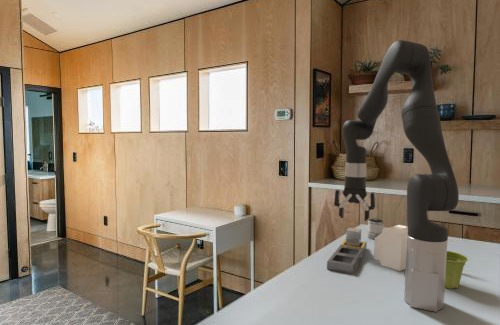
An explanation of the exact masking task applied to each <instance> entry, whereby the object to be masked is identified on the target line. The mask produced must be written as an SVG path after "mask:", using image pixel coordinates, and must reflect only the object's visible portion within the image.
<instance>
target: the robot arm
mask: <svg viewBox="0 0 500 325" xmlns="http://www.w3.org/2000/svg"><path fill="white" fill-rule="evenodd" d="M395 73H396V74H397V73H398V74H403V75H408V76H409V78H410V82H411V91H410V93H409V95H408V97H407V98H406V99H405V102H404V104H403V106H402V108H401V118H402V119H401V121H402V127H403V131H404V135H405V137H406V138H407V140H408V141H409V142H410V143H411V145H412V146H413V147H414V148H415V149H416V150H417V151H418V152H419V153H420V155H421V156H422V157H424V160H426V162H427V164H428V166H429V168H430V171H431V174H430V173H425V174H423V173H416V174H412V175H411V176H410V177H409V180H408V182H407V186H406V187H407V188H406V224H407V227H408V235H407V253H406V269H405V275H404V298H403V299H404V302H406V303H407V304H408V305H409V307H411V308H415V309H421V310H425V311H431V312H435V313H437V312H438V311H439V310H442V309H443V308H444V307H445V306H444V305H445V289H446V287H445V274H446V258H447V251H448V241H449V240H448V239H449V238H448V237H449V231H448V228H447V227H445V226H444V225H442V224H439V223H437V222H434V221H432V220H430V219H429V218H428V212H451V211H454V210H455V209H456V208H457V207H458V203H459V196H460V195H459V188H458V183H457V180H456V176H455V173H454V170H453V166H452V165H451V161H450V158H449V155H448V151H447V148H446V143H445V139H444V138H445V137H444V134H443V131H442V129H443V128H442V124H441V123H442V122H441V118H440V114H439V109H438V104H437V100H436V95H435V90H434V84H433V83H434V82H433V76H432V74H433V73H432V64H431V54H430V51H429V48H428V47H427V45H424V44H423V43H418V42H414V41H408V40H402V39H397V40H395V41H394V42H393V43H392V44H391V45H390V47H389V48H388V50H387V51H386V53H385V55H384V57H383V59H382V61H381V64H380V67H379V69H378V71H377V73H376V76H375V78H374V81H373V83H372V86H371V88H370V90H369V92H368V94H367V95H366V96H365V99H364V100H363V102H362V104H360V106H359V108H358V110H357V114H356V115H357V118H358V119H356V120H355V119H348V120H345V122H344V123H343V125H342V129H341V134H342V138H343V139H342V140H343V142H344V147H345V152H346V153H345V154H346V155H345V169H344V187H343V188H344V189H343V190H341V189H336V190H335V191H334V192H335V193H334V194H335V195H334V202H333V203H334V206H335V207H337V208H339V209H338V215H339V217H340V219H344V216H345V206H346V204H347V203H350V204H353V203H355V204H361V206H363V208H364V222H368V220H369V219H370V211H371V210H375V209H376V193H375V192H374V191H372V192H367V174H368V173H367V149H366V148H365V147H364V146H360V145H359V144H358V143H357V142H358V141H361V140H362V141H364V140H367V139H369V138H371V137H372V135H373V132H374V129H375V125H376V123H377V119H379V117H380V115H381V114H382V113H383V111H384V110H385V108H386V106H387V104H388V99H389V95H388V94H389V93H388V92H389V91H388V85H389V84H388V83H389V81H390V80H391V78H392V77H393V75H394V74H395ZM357 140H358V141H357ZM342 195H343V196H344V199H343V201H342V202H341V203H340V197H341V196H342ZM366 197H368V199H370V205H369V204H368V203H367V201H366V199H365V198H366Z"/></svg>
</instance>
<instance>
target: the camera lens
mask: <svg viewBox="0 0 500 325" xmlns="http://www.w3.org/2000/svg"><path fill="white" fill-rule="evenodd" d="M384 223H385V222H384V221H383V219H380V218H369V219H367V237H368V239H370V240H374V239H375V238H376V237H377V236H378V235H380V234H381V233H382V230H383V229H385V228H384Z"/></svg>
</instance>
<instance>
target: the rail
mask: <svg viewBox="0 0 500 325" xmlns="http://www.w3.org/2000/svg"><path fill="white" fill-rule="evenodd" d="M367 248H368V247H367V241H361V248H360V247H355V246H348V245H346V239H344V240H343V241H342V242H341V244H340V245H339V246H338V248H337V249H336V250H335V251H334V253H332V255H331V257H329V259H328V260H327V261H326V270H329V271H335V272H341V273H346V274H351V275H352V274H354V273H355V270H356V269H357V266H358V264H359V262H360V261H361V259H362V257H363V256H364V254H365V252H366V250H367Z"/></svg>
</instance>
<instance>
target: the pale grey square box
mask: <svg viewBox="0 0 500 325" xmlns="http://www.w3.org/2000/svg"><path fill="white" fill-rule="evenodd" d="M345 234H346V237H345V238H346V245H348V246H355V247H360V248H361V242H362V228H354V227H348V228H346V233H345Z"/></svg>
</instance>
